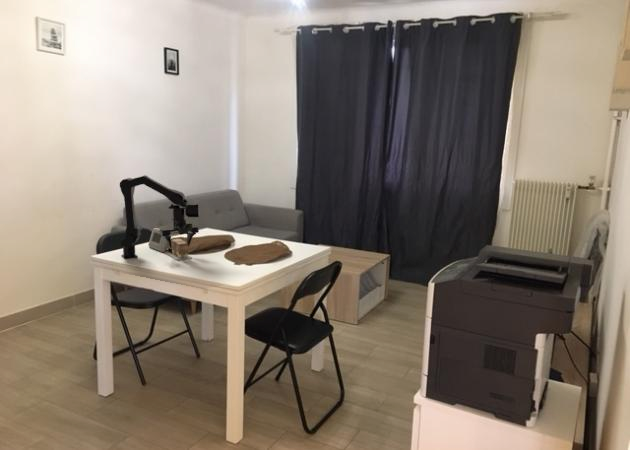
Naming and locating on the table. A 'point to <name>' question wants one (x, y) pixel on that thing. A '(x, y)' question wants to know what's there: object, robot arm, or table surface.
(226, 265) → the table surface
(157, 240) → the digital clock
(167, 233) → the robot arm
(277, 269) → the table surface
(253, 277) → the table surface
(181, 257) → the peg stand
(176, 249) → the tan rectangular block
